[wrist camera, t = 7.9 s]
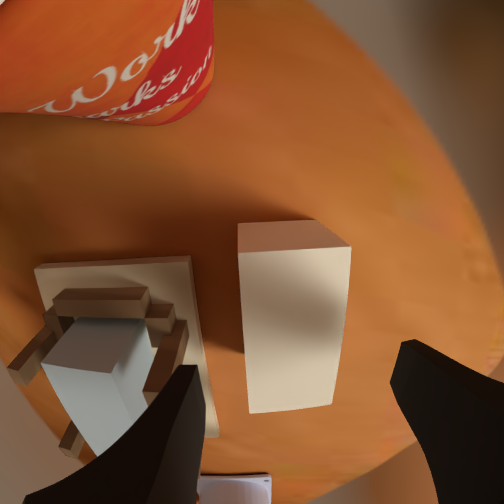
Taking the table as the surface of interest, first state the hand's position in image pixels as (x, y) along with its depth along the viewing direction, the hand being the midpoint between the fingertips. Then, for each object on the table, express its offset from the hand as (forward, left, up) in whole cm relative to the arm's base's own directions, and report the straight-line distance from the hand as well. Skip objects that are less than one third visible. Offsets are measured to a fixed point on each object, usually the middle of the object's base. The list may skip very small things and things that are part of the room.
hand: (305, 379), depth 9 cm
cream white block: (0, 0, -7) cm, 7 cm away
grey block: (-4, +10, -6) cm, 12 cm away
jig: (-5, +10, -7) cm, 13 cm away
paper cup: (+12, +6, -7) cm, 15 cm away
